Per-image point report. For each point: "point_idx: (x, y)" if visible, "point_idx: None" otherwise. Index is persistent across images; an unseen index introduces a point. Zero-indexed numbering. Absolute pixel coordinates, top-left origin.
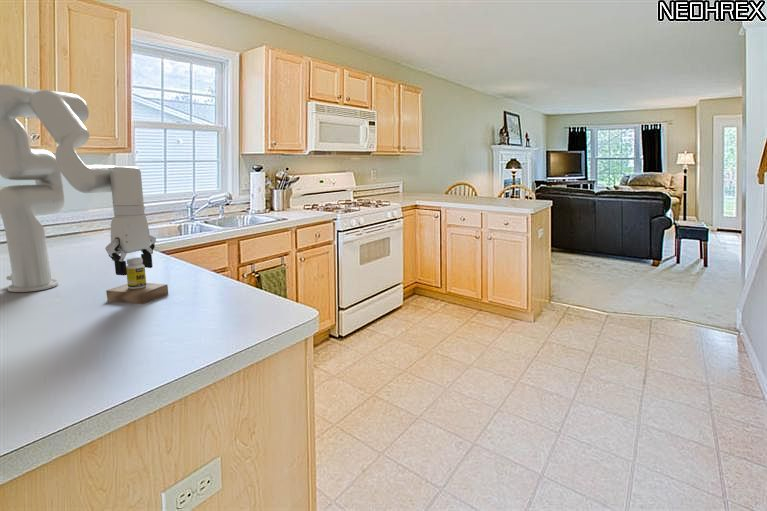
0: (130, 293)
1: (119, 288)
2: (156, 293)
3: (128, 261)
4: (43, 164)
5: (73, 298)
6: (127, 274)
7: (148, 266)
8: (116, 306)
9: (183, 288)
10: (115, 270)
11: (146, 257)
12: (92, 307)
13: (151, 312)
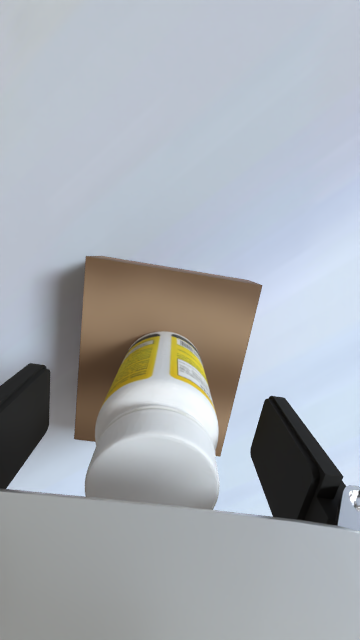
0: (79, 385)
1: (130, 298)
2: None
3: (89, 464)
4: None
5: (110, 42)
6: (112, 383)
7: (254, 446)
8: (43, 341)
9: None
10: (13, 376)
11: (284, 498)
12: (8, 258)
13: (15, 479)
